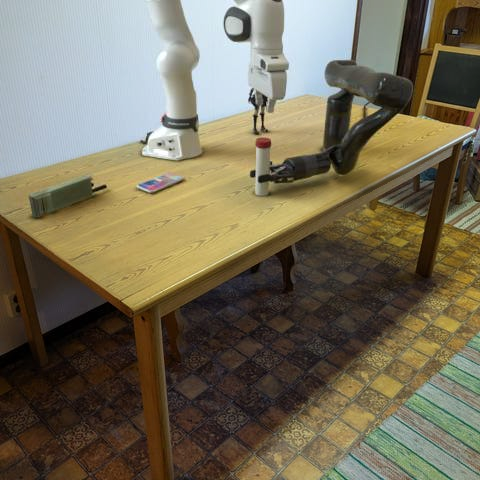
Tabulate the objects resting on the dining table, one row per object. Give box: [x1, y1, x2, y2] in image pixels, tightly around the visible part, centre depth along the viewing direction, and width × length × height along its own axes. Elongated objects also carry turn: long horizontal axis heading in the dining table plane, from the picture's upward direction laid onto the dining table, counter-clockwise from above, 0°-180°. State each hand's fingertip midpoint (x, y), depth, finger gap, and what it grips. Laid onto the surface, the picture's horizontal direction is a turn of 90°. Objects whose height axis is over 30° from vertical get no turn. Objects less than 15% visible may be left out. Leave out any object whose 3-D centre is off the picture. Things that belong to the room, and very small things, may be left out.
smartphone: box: [136, 172, 184, 194], centre depth 164 cm, size 7×1×15 cm
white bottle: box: [254, 146, 271, 197], centre depth 155 cm, size 4×4×17 cm
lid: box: [255, 136, 272, 148], centre depth 151 cm, size 5×5×2 cm
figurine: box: [247, 87, 269, 135], centre depth 206 cm, size 15×6×30 cm, turn 132°
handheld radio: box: [28, 173, 108, 219], centre depth 150 cm, size 7×3×25 cm
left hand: (264, 108), depth 146 cm, fingers open, 7 cm apart
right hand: (254, 177), depth 155 cm, fingers closed on white bottle, 4 cm apart
